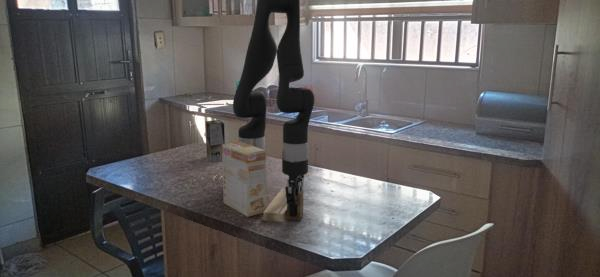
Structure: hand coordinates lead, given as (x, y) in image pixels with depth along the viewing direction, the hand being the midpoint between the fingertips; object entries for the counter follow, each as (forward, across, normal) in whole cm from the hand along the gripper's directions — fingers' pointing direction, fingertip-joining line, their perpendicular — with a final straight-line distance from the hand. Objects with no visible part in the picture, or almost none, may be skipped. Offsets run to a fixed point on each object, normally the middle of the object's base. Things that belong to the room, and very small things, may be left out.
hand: (294, 212), depth 142 cm
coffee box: (+2, -56, -48) cm, 73 cm away
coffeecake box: (+2, -4, -17) cm, 18 cm away
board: (+2, -7, -6) cm, 9 cm away
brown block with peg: (+1, 0, 0) cm, 1 cm away
